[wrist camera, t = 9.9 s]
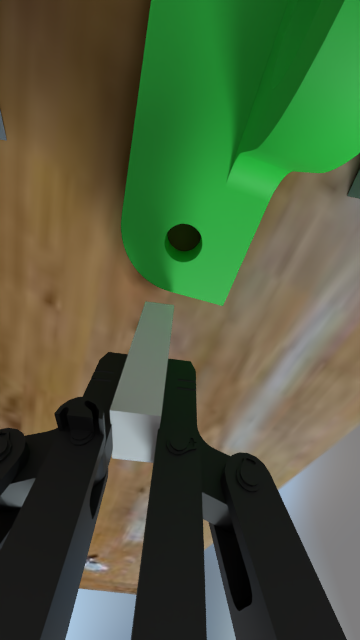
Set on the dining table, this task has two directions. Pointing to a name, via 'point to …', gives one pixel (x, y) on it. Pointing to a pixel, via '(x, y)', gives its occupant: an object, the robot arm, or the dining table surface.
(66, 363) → the dining table surface
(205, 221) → the mechanical part
